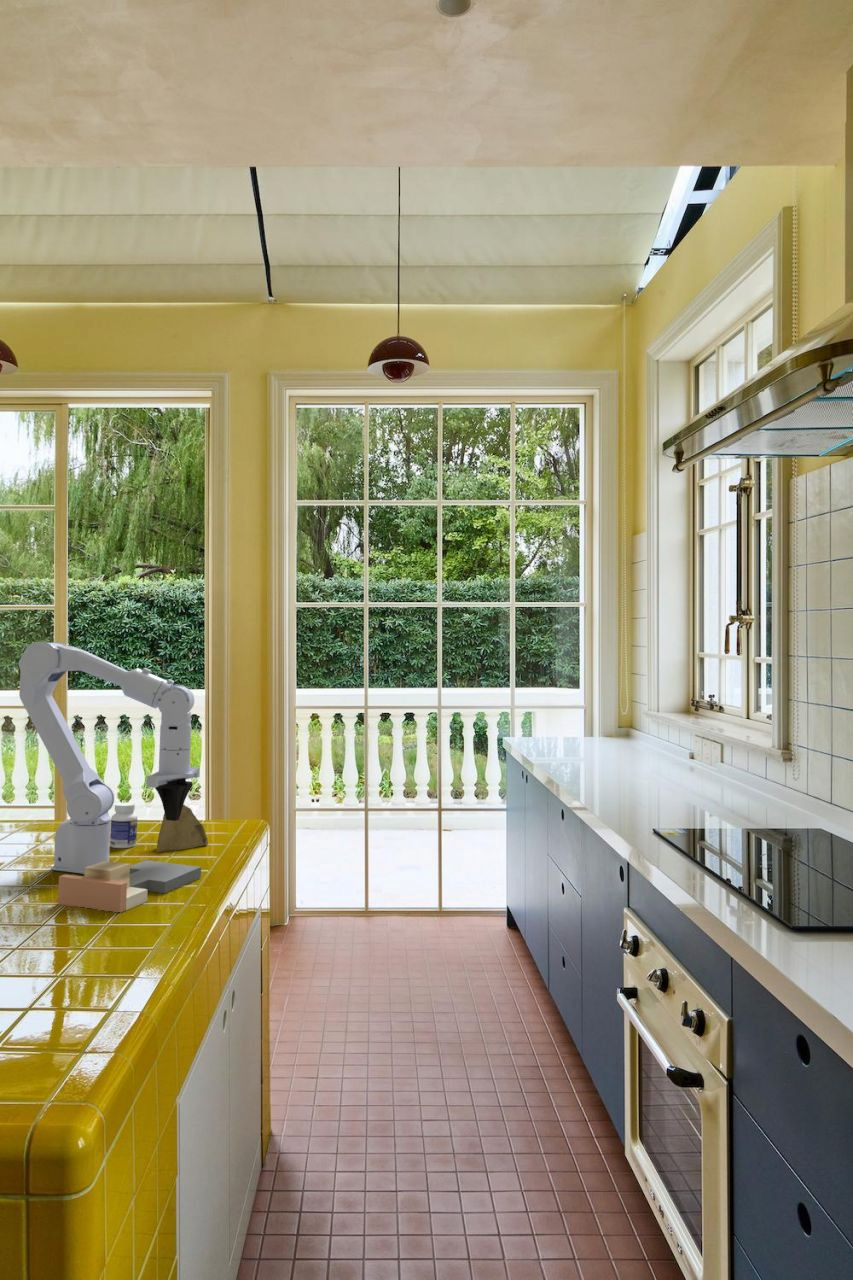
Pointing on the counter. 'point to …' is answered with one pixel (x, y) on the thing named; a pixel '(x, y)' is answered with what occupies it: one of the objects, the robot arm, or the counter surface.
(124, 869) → the maple block
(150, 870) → the plate
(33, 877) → the counter surface
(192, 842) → the rock
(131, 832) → the pill bottle
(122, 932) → the counter surface
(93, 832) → the robot arm
